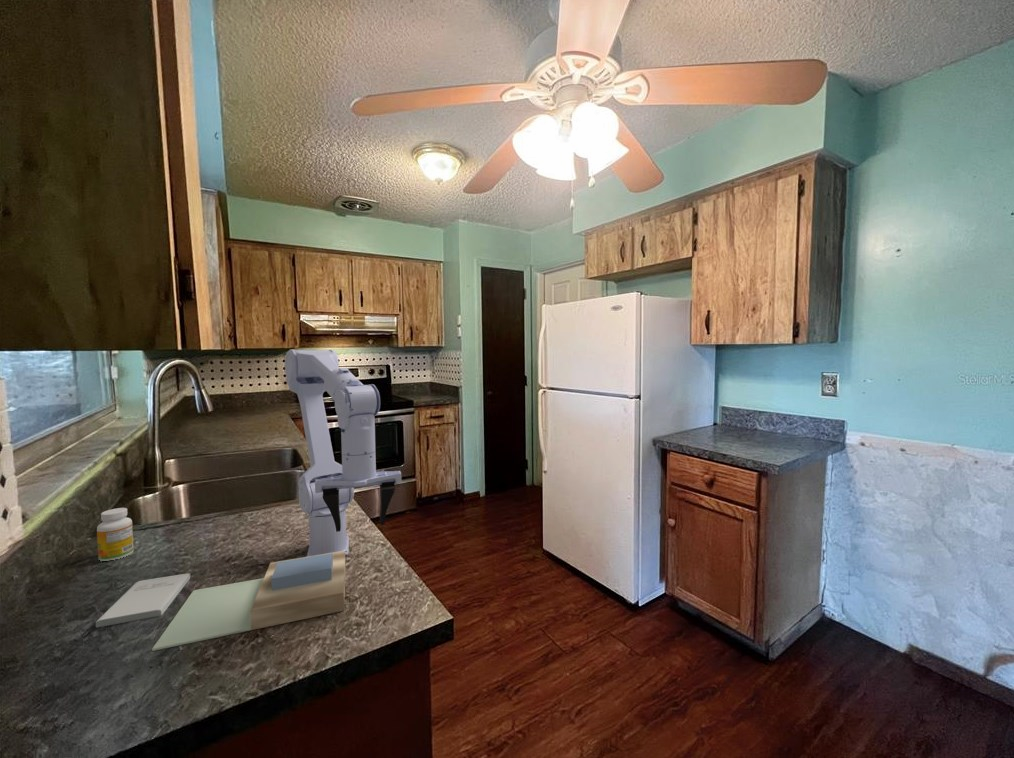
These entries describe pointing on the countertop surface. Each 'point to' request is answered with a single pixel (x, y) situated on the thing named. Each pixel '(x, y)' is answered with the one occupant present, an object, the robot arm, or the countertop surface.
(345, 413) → the robot arm
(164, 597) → the external hard drive
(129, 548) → the supplement bottle
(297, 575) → the blue flat block
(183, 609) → the mat
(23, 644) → the countertop surface
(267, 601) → the board
